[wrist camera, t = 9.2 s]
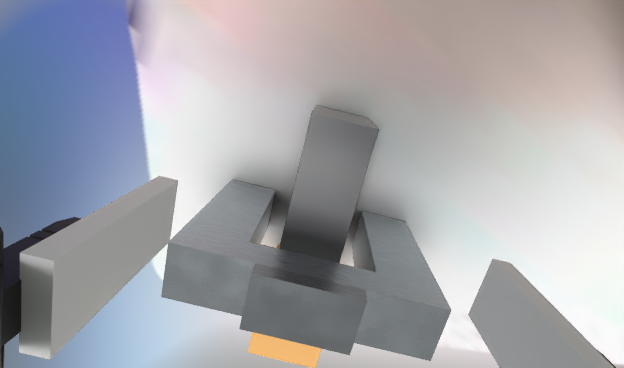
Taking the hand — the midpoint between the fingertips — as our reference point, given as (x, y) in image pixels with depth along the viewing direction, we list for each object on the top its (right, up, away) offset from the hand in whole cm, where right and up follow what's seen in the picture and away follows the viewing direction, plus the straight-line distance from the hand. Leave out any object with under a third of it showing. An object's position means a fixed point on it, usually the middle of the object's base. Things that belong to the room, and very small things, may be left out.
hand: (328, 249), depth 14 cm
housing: (0, -1, +22) cm, 22 cm away
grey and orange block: (0, 0, +22) cm, 22 cm away
